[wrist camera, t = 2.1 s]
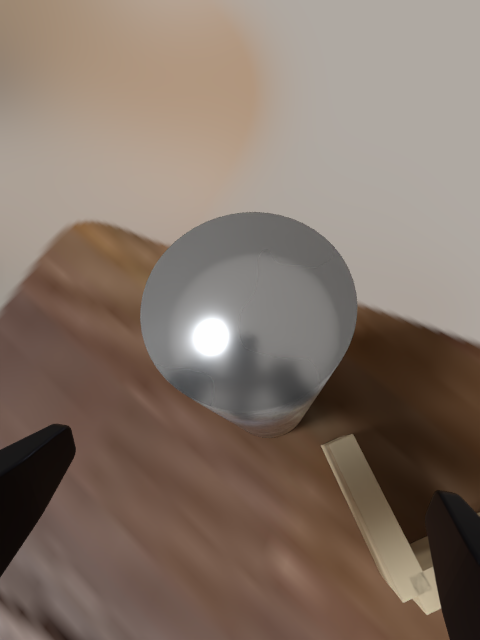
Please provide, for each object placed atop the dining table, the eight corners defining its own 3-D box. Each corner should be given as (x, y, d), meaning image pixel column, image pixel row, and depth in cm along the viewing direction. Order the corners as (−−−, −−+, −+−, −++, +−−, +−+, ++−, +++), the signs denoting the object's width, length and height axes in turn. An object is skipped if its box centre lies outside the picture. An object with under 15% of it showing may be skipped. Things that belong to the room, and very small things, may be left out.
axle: (255, 454, 18) (202, 460, 6) (215, 384, 19) (109, 275, 7) (323, 409, 18) (407, 329, 6) (278, 345, 20) (276, 182, 8)
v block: (503, 637, 14) (558, 683, 11) (293, 530, 16) (295, 546, 13) (519, 511, 15) (572, 524, 13) (325, 430, 18) (334, 426, 15)
